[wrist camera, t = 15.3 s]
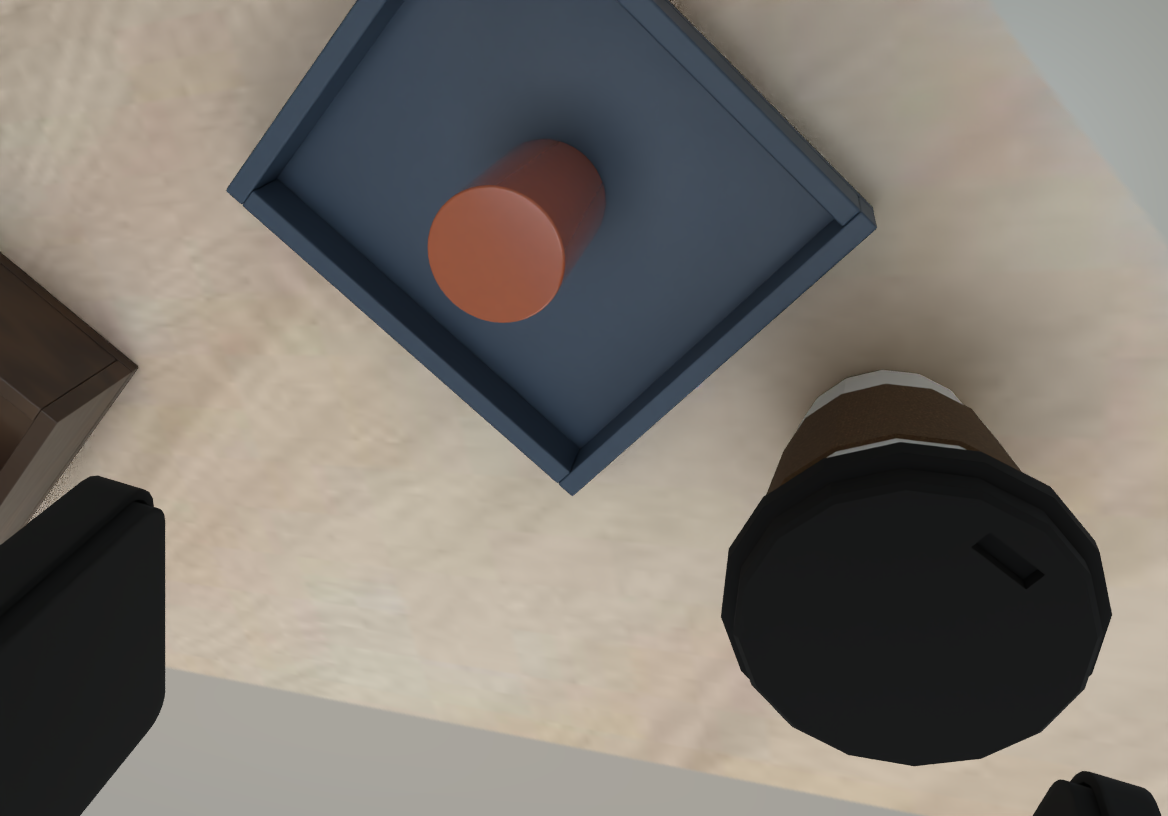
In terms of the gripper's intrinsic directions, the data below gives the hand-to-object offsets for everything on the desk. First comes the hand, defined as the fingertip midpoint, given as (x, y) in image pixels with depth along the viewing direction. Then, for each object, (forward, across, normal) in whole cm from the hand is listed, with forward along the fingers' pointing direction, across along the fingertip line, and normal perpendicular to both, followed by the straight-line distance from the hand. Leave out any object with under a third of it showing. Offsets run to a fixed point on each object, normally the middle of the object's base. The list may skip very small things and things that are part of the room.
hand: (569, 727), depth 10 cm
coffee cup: (+28, -8, +10) cm, 31 cm away
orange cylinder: (+28, +6, +3) cm, 29 cm away
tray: (+28, +6, +3) cm, 29 cm away
